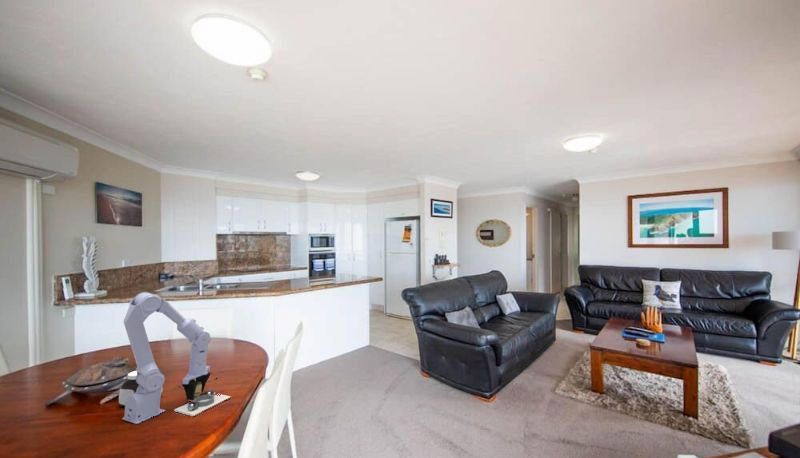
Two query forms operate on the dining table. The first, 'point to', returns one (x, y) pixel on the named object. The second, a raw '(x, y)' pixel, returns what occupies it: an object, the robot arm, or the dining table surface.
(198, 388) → the cylinder
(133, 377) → the spread jar
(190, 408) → the steel shaft
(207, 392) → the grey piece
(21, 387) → the dining table surface
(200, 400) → the base plate
